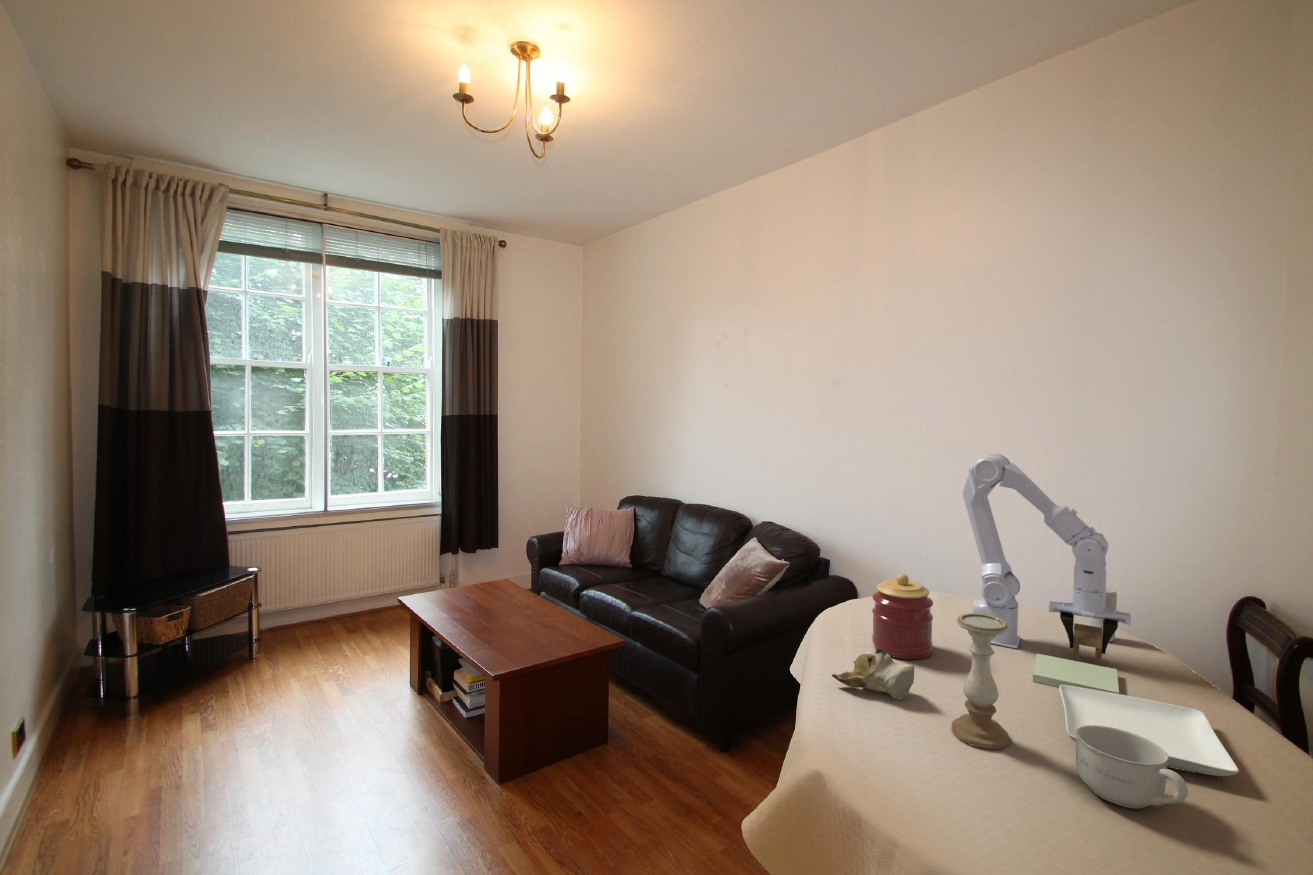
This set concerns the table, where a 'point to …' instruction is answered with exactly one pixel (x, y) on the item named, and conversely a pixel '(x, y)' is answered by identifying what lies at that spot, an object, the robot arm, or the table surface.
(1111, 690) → the sage green board
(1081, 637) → the walnut stool
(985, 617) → the candle holder
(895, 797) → the table surface
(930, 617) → the canister
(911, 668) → the ceramic sculpture
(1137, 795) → the teacup
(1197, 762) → the salad plate
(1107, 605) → the beverage can
